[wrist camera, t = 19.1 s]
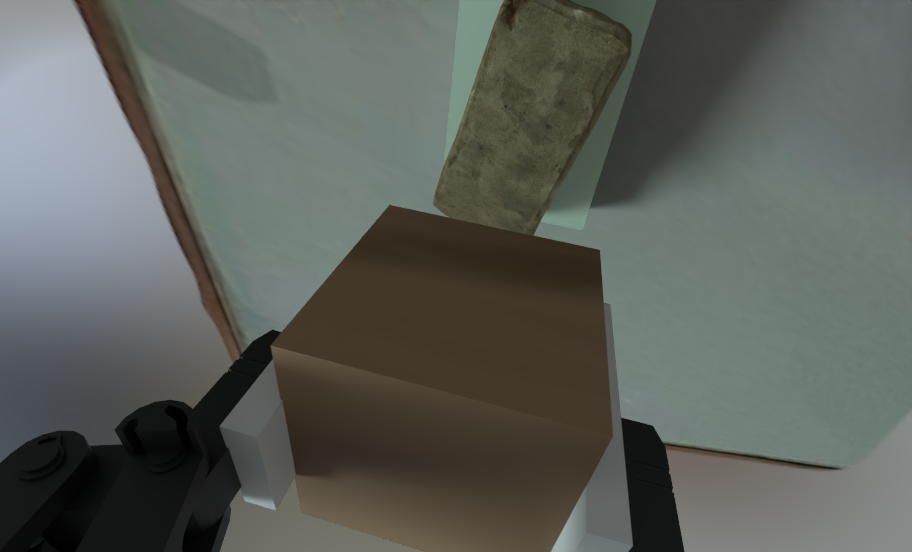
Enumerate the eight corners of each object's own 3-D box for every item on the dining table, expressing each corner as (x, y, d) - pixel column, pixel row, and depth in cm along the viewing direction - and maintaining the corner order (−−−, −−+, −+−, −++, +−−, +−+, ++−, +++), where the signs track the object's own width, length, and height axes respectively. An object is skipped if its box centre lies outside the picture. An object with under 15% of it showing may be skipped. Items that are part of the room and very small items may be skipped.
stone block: (633, 21, 20) (647, 34, 16) (532, 222, 27) (524, 265, 23) (518, -27, 20) (503, -26, 16) (446, 186, 27) (423, 224, 23)
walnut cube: (389, 205, 13) (270, 346, 8) (599, 250, 12) (613, 436, 7) (385, 352, 16) (301, 513, 11) (548, 394, 15) (533, 585, 10)
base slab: (474, -28, 23) (462, -28, 21) (648, -4, 22) (656, 0, 20) (451, 182, 30) (440, 201, 28) (581, 209, 29) (582, 230, 27)
